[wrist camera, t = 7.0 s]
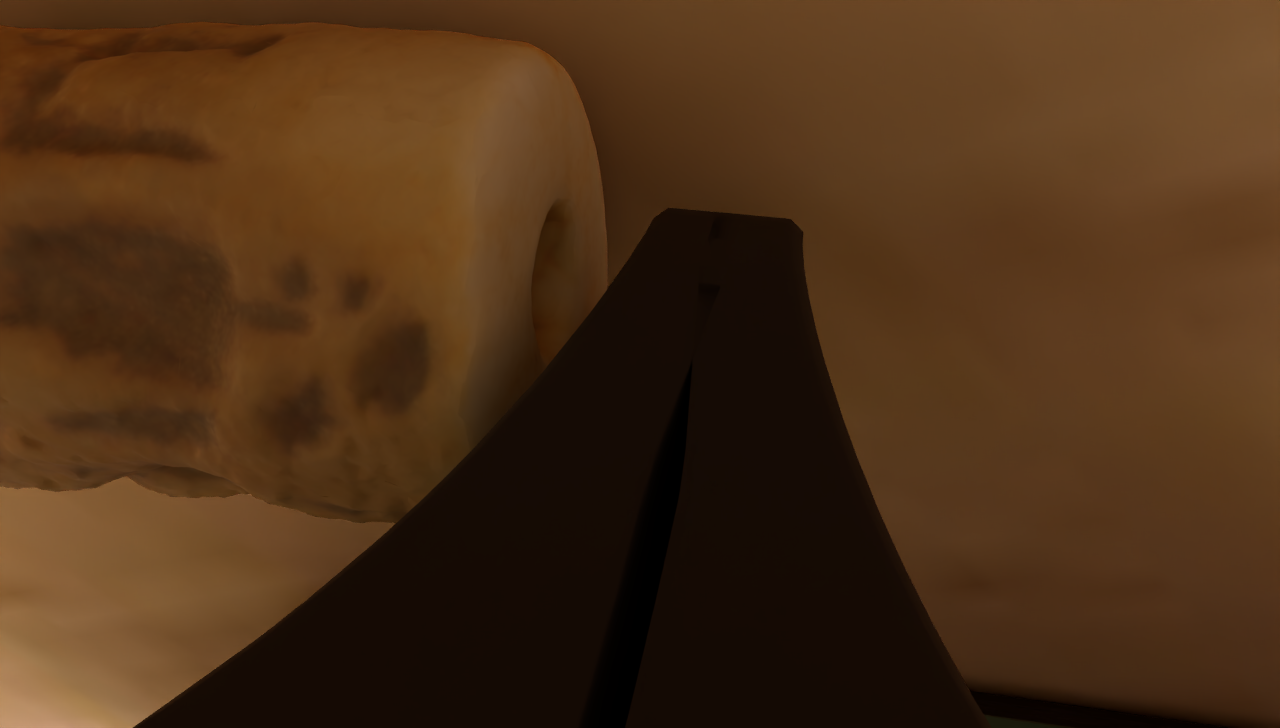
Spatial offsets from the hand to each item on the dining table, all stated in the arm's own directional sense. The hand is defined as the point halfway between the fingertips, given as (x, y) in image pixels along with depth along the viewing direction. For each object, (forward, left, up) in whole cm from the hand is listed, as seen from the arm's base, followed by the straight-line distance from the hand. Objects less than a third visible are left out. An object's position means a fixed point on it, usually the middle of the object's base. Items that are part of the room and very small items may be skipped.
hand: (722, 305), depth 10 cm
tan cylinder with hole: (+5, 0, -2) cm, 6 cm away
